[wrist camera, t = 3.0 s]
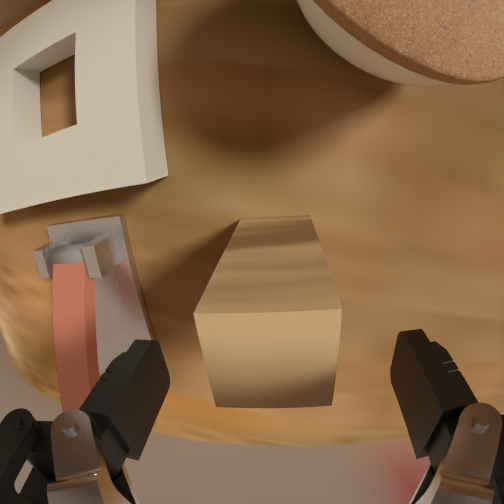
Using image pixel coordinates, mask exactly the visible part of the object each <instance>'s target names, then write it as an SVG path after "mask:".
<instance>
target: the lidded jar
mask: <svg viewBox="0 0 504 504" xmlns="http://www.w3.org/2000/svg"><path fill="white" fill-rule="evenodd" d="M296 1H297V3H298V5H299V7H300V9H301V11H302V13H303V15H304V17H305V19H306V20H307V22H308V23H309V25H310V26H311V27H312V29H313V30H314V32H315V33H316V34H317V35H318V36H319V37H320V38H321V39H322V41H323V42H324V43H325V44H326V45H328V46H329V47H330V48H331V49H332V50H333V51H334V52H335V53H337V54H338V55H339V56H341V57H342V58H344V59H345V60H346V61H348V62H349V63H351V64H352V65H354V66H356V67H358V68H359V69H361V70H363V71H365V72H367V73H369V74H371V75H374V76H376V77H378V78H381V79H384V80H387V81H391V82H394V83H399V84H405V85H410V86H417V87H445V86H454V85H461V84H464V85H468V84H480V83H487V82H491V81H494V80H498V79H501V78H503V77H504V0H296Z"/></svg>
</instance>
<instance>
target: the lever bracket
mask: <svg viewBox="0 0 504 504" xmlns="http://www.w3.org/2000/svg"><path fill="white" fill-rule="evenodd" d="M47 230H48V234H49V238H50V242H48V243H46V244H44V245H43V246H41V247H39V248H37V249H36V250H34V251H33V254H34V257H35V261H36V264H37V267H38V271H39V274H40V277H41V278H51V277H52V276H53V261H52V253H53V250H54V248H55V247H57V246H63V245H74V244H85V243H87V244H85V245H83V246H82V247H81V249H82V253H83V256H84V260H85V264H86V267H87V271H88V274H89V278H95V316H96V339H97V354H98V366H99V373H100V374H103V373H104V372H105V370H106V368H107V367H108V365H109V364H110V363H111V361H112V360H113V359H115V358H116V357H117V356H118V355H120V354H121V353H122V352H127V350H128V349H129V347H130V346H131V344H132V343H133V341H134V340H136V339H141V340H156V339H155V336H154V333H153V330H152V326H151V323H150V320H149V316H148V313H147V310H146V306H145V302H144V299H143V295H142V291H141V288H140V284H139V280H138V276H137V272H136V268H135V263H134V259H133V255H132V250H131V246H130V241H129V237H128V232H127V227H126V222H125V216H124V214H119V215H111V216H103V217H96V218H89V219H82V220H75V221H68V222H62V223H56V224H51V225H49V226H47Z"/></svg>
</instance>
